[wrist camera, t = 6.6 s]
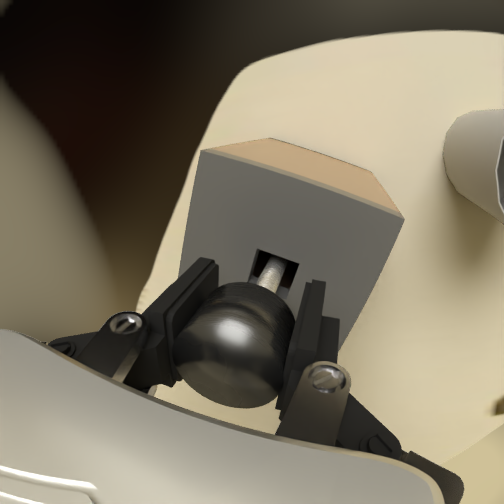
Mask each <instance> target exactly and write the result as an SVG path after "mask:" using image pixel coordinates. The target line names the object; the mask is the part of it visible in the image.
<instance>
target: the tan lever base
mask: <svg viewBox="0 0 504 504" xmlns="http://www.w3.org/2000/svg"><path fill="white" fill-rule="evenodd" d="M404 220H405V219H404V217H403V216H402V214H401V213H400V211H399V210H398V208H397V207H396V205H395V204H394V203H393V201H392V200H391V198H390V197H389V195H388V194H387V193H386V191H385V190H384V188H383V187H382V186H381V184H380V183H379V182H378V180H377V179H376V177H375V176H374V175H373V173H372V172H370V171H368V170H365V169H363V168H360V167H357V166H355V165H352V164H349V163H347V162H344V161H341V160H338V159H335V158H332V157H330V156H327V155H324V154H321V153H318V152H315V151H312V150H309V149H306V148H302V147H299V146H296V145H293V144H290V143H286V142H283V141H280V140H276V139H273V138H266V139H260V140H254V141H248V142H242V143H236V144H231V145H225V146H220V147H215V148H210V149H205V150H201V152H200V156H199V161H198V166H197V171H196V176H195V181H194V186H193V191H192V197H191V202H190V207H189V213H188V219H187V224H186V230H185V236H184V242H183V248H182V255H181V261H180V268H179V275H178V278H179V277H180V276H181V275H182V274H183V273H184V272H185V271H186V270H187V269H188V268H189V267H190V266H191V265H192V264H193V263H194V262H195V261H196V260H197V259H198V258H200V257H204V258H208V259H213V260H215V264H218V265H219V285H218V287H220V286H222V285H224V284H227V283H233V282H248V283H253V284H256V283H257V281H258V279H259V277H260V275H261V274H262V272H263V270H264V268H265V266H266V264H267V262H268V261H269V259H270V257H271V255H272V254H274V255H277V256H280V257H282V258H285V259H288V260H289V261H288V263H287V266H286V268H285V271H284V273H283V276H282V278H281V280H280V283H279V285H278V288H277V290H276V293H275V294H277V295H278V296H279V297H280V298H281V299H283V300H284V301H285V303H286V304H287V305H288V306H289V308H290V309H291V311H292V313H293V315H294V318H295V321H296V319H297V315H298V311H299V307H300V304H301V300H302V296H303V292H304V288H305V284H306V282H310V283H312V279H314V280H320V281H325V282H326V289H325V296H324V304H323V311H322V316H328V317H333V318H338V319H340V329H339V343H338V351H339V350H340V348H341V346H342V344H343V343H344V341H345V339H346V338H347V336H348V334H349V332H350V331H351V329H352V327H353V325H354V323H355V322H356V320H357V318H358V316H359V314H360V312H361V311H362V309H363V307H364V305H365V303H366V301H367V299H368V297H369V295H370V293H371V291H372V289H373V287H374V285H375V283H376V281H377V279H378V277H379V275H380V273H381V271H382V269H383V267H384V265H385V263H386V261H387V259H388V257H389V254H390V252H391V250H392V248H393V246H394V243H395V241H396V239H397V237H398V234H399V232H400V230H401V227H402V225H403V223H404Z"/></svg>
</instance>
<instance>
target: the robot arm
mask: <svg viewBox="0 0 504 504" xmlns="http://www.w3.org/2000/svg"><path fill="white" fill-rule="evenodd" d="M218 285H219V265H218V264H215V260H213V259H208V258H204V257H200V258H198V259H197V260H196V261H195V262H194V263H193V264H192V265H191V266H190V267H189V268H188V269H187V270H186V271H185V272H184V273H183V274H182V275H181V276H180V277H179V278H178V279H177V280H176V281H175V282H174V283H173V284H171V285H170V286H169V287H168V288H167V289H166V290H165V291H164V292H163V293H162V294H161V295H160V296H159V297H158V298H157V299H156V300H155V301H154V302H153V303H152V304H151V305H150V306H149V307H148V308H147V309H146V310H145V311H144V312H143V313H142V314H140V313H137V312H132V311H124V312H119V313H117V314H115V315H112V316H111V317H110V318H109V319H108V320H107V321H106V322H105V324H104V325H103V326H102V327H101V328H100V330H99V331H97V332H92V333H86V334H80V335H74V336H68V337H62V338H58V339H55V340H53V341H51V342H50V343H49V344H47V342H40V341H38V340H36V339H34V338H32V337H30V336H27V335H25V334H22V333H19V332H15V331H11V330H5V329H0V504H459V503H460V501H461V499H462V496H463V493H464V484H463V482H462V480H461V478H460V477H459V476H458V475H456V474H455V473H453V472H451V471H449V470H447V469H445V468H442V467H441V466H439V465H437V464H435V463H433V462H431V461H429V460H427V459H426V458H424V457H422V456H420V455H418V454H416V453H414V452H413V451H410V452H409V453H407V452H405V451H403V450H402V449H401V445H400V442H399V440H398V439H397V438H396V437H395V435H393V434H392V433H391V432H390V431H389V430H388V429H387V428H386V427H385V426H384V425H383V424H382V423H381V422H379V421H378V420H377V419H376V418H375V417H374V416H373V415H372V414H371V413H370V412H369V411H368V410H367V409H366V408H365V407H364V406H363V405H361V404H360V403H359V402H358V401H357V400H356V399H355V398H354V397H353V396H352V395H351V394H350V393H349V391H350V387H351V378H350V375H349V373H348V372H347V371H346V370H345V369H344V368H343V367H341V366H340V365H338V364H337V356H338V343H339V329H340V319H338V318H333V317H328V316H322V311H323V304H324V296H325V289H326V282H325V281H320V280H314V279H312V283H310V282H306V284H305V288H304V292H303V296H302V300H301V304H300V307H299V311H298V315H297V319H296V323H295V326H294V330H293V334H292V337H291V341H290V345H289V349H288V353H287V358H286V363H285V367H284V372H283V385H282V388H281V391H280V393H279V394H278V398H277V403H276V407H275V409H277V410H281V412H280V416H279V419H280V421H281V423H280V425H279V427H278V429H277V431H276V433H275V435H273V434H269V433H265V432H261V431H257V430H253V429H249V428H245V427H242V426H238V425H235V424H231V423H228V422H224V421H221V420H218V419H215V418H211V417H208V416H205V415H202V414H199V413H196V412H193V411H190V410H188V409H185V408H182V407H179V406H176V405H174V404H171V403H168V402H166V401H163V400H161V399H158V398H156V397H153V396H154V394H155V392H156V390H157V385H159V384H163V385H166V386H169V387H173V386H174V384H175V383H176V381H181V380H182V379H183V378H182V377H181V375H180V374H179V372H178V371H177V369H176V367H175V364H174V361H173V356H172V348H173V343H174V341H175V339H176V338H177V336H178V335H179V334H180V332H181V331H182V330H183V328H184V327H185V326H186V324H187V323H188V322H189V321H190V319H191V318H192V317H193V315H194V314H195V313H196V311H197V310H198V309H199V307H200V306H201V305H202V304H203V302H204V301H205V300H206V298H207V297H208V296H209V294H210V293H211V292H212V291H213V290H215V289H216V288H218Z"/></svg>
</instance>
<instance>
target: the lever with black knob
mask: <svg viewBox="0 0 504 504" xmlns="http://www.w3.org/2000/svg"><path fill="white" fill-rule="evenodd" d="M288 261H289V260H288V259H285V258H282V257H280V256H277V255H274V254H272V255H271V257H270V259H269V261H268V262H267V264H266V266H265V268H264V270H263V272H262V274H261V275H260V277H259V279H258V281H257V283H256V284H253V283H248V282H233V283H227V284H224V285H222V286H220V287H218V288H216V289H215V290H213V291H212V292H211V293H210V294H209V296H208V297H207V298H206V300H205V301H204V302H203V304H202V305H201V306H200V307H199V309H198V310H197V311H196V313H195V314H194V315H193V317H192V318H191V319H190V321H189V322H188V323H187V324H186V326H185V327H184V328H183V330H182V331H181V332H180V334H179V335H178V336H177V338H176V339H175V341H174V343H173V348H172V356H173V361H174V364H175V367H176V369H177V371H178V372H179V374H180V375H181V377H182V378H183V379H184V380H185V382H186V383H187V384H188V385H189V386H190V387H192V388H193V389H194V390H195V391H196V392H198V393H199V394H201V395H202V396H204V397H206V398H208V399H209V400H212V401H214V402H216V403H219V404H222V405H225V406H229V407H234V408H255V407H260V406H263V405H265V404H267V403H269V402H271V401H272V400H274V399H275V398H276V397H277V396H278V394H279V393H280V391H281V388H282V385H283V372H284V367H285V363H286V358H287V353H288V349H289V345H290V341H291V337H292V334H293V330H294V326H295V323H296V321H295V318H294V315H293V313H292V311H291V309H290V308H289V306H288V305H287V304H286V303H285V301H284V300H283V299H281V298H280V297H279V296H278V295H277V294H275V293H276V290H277V288H278V285H279V283H280V280H281V278H282V276H283V273H284V271H285V268H286V266H287V263H288Z"/></svg>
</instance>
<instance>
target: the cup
mask: <svg viewBox="0 0 504 504" xmlns="http://www.w3.org/2000/svg"><path fill="white" fill-rule="evenodd" d="M443 157H444V163H445V168H446V174H447V176H448V178H449V179H450V181H451V183H452V184H453V186H454V188H455V189H456V191H457V192H458V193H460V194H461V195H463V196H464V197H465V198H467V199H468V200H470V201H471V202H473V203H474V204H476V205H477V206H479V207H480V208H482V209H483V210H485V211H486V212H487V213H489V214H490V215H492V216H493V217H494V218H496V219H497V220H499V221H500V222H501V223H503V224H504V109H496V110H477V111H471V112H469V113H467V114H464V115H462V116H460V117H457V119H456V120H455V122H454V123H453V125H452V126H451V127H450V129H449V130H448V131H447V133H446V139H445V144H444V149H443Z"/></svg>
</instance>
